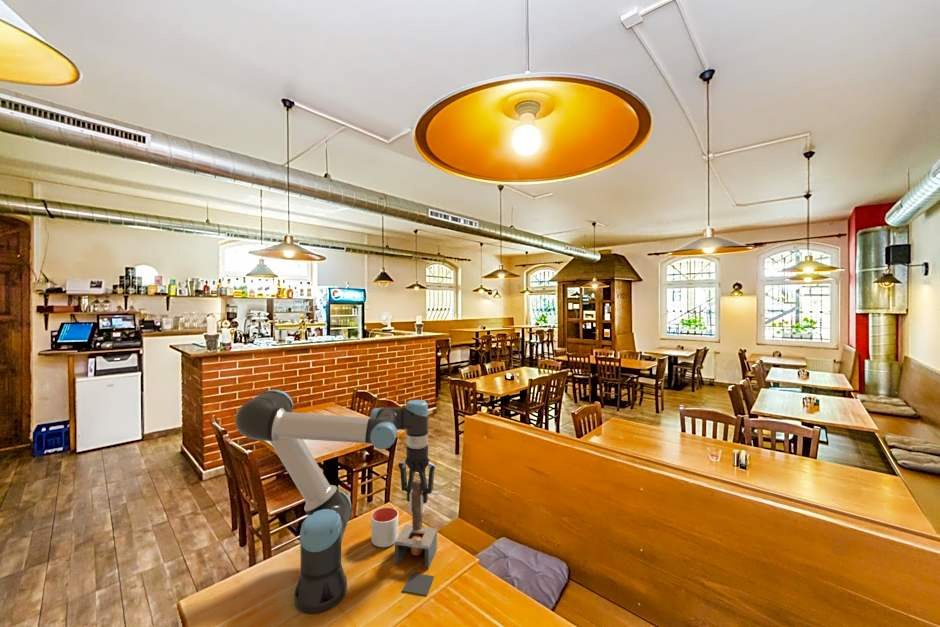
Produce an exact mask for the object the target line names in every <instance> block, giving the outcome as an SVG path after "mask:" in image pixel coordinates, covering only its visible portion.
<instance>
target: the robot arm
mask: <svg viewBox="0 0 940 627" xmlns="http://www.w3.org/2000/svg"><path fill="white" fill-rule="evenodd" d="M293 408H294V404H293V400H292V398H291V396H290V395H289V394H288V393H287V392H285V391H283V390H280V389H270V390H266V391H263V392H260V393H259V394H257V395H256V396H255V397H253V398H252V399H250V400H248V401H247V402H244V403H243V405H241V406H240V407H239V409H237V410H238V411H237V412H236V415H235V417H234V419H235V422H234V423H235V426H236V430H237V431H238V432H239V434H241V435H242V436H244V437H245V438H248V439H251V440H254V441H255V440H256V441H263V442H264V441H267V442H269V443H270V444H271V446H272V447H273V450H274V451H275V452H276V454H277V456H278V457H279V459H280V462H282V465H283V466H284V468H285V469H286V471H287V473H288V474H289V476H290V478H291V479H292V481H293V483H294V484H295V486H296V489H298V492H299V493H300V494H301V496H302V498H303V499H304V501H305V504H304V508H303V509H304V512H305V513H306V515H307V517H305V519H304V520H303V522H302V524H301V528H300V532H299V544H300V545H299V548H300V574H299V578H298V581H297V584H296V587H295V590H294V595H293V598H294V599H293V600H294V606H295V608H296V609H297V611H300V612H302V613H304V614H309V615H311V614H319V613H323V612H326V611H328V610H330V609H333V608H334V607H335V606H337V605H338V604H339V603H341V601H343V599H344V597H345V596H346V594H347V592H348V579H347V576H346V574H345V571H344V568H343V565H342V542H343V541H342V540H343V539H344V538H343V537H344V535H345V531H346V529H347V525H348V523H349V520H350V519H351V518H350V517H351V515H352V502H351V499H350V497H349V496H348V494H347V493H345V492H344V491H341V490H339V488H338V486H336V485H333V484H330V483H329V481H328V479H327V478H326V476H325V475H324V473H323V470H321V468H320V466H319V464H318V463H317V461H316V459H315V457H314V456H313V454H312V453H311V450H310V449H309V448H308V446H307V444H306V442H305V441H304V440H308V441H322V442H323V441H324V442H325V441H326V442H339V443H341V442H342V443H345V442H346V443H353V444H355V443H357V444H358V443H359V444H371V445H372V446H373V447H375V448H376V449H378V450H386V449H389V448H390V447H391V446H392V445H393V444H394V443H395V441H396V438H397V437H398V436H397V435H398V431H403V430H406V432H405V433H406V434H405V435H406V439H405V440H406V447H405V449H406V452H405V453H406V458H405V460H403V459H402V460H401V461H400V462H399V463H398V469H399V471H400V484H401V485H400V486H401V492H402V491H403V492H405V493H406V501H407V502H408V503H409V513H412V483H413V482H414V481H415V480H414V479H415V473H418V475H419V479H420V480H419V481H421V487H422V494H421V514H422V515H423V514H424V512H425V511H426V504H427V502H428V500H429V499H428V498H429V496H428V495H430V494H432V492H433V491H434V490H433V489H434V480H435V478H434V477H435V469H436V467H437V463H432V462H430V459H429V445H428V444H429V406H428V402H427V401H425V400H423V399H411V400H408V401H407V402H406V405H405V406H404V407H402V406H401V407H376V408H372V410H371V411H370V417H360V416H358V417H357V416H349V415H348V416H346V415H331V414H317V413H308V412H307V413H305V412H293ZM407 467H408V469H409V471H408V477H407ZM427 467H428V471H429V472H428V479H427V476H426V469H427ZM427 480H428V482H427Z"/></svg>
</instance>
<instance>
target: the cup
mask: <svg viewBox="0 0 940 627" xmlns="http://www.w3.org/2000/svg"><path fill="white" fill-rule="evenodd" d="M370 518H371V519H370V523H371V524H370V530H371V531H370V540H371V543H372V545H374V546H376V547H378V548H388V547H391V546H393V545H395V541H396V539H397V537H398V536H399V511H398V510H397V509H396V508H394V507H390V506H389V507H381V508H378V509H376V510H375V511H373V512H372V513H371V515H370Z"/></svg>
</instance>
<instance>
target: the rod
mask: <svg viewBox="0 0 940 627" xmlns="http://www.w3.org/2000/svg"><path fill="white" fill-rule="evenodd" d="M421 494H422V487H421V480H413V483H412V512H411V513H412V514H411V516H412V518H411V520H412V524H411V525H412V528H413V530H420V529H422V527H423V514H421Z"/></svg>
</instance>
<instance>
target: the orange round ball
mask: <svg viewBox="0 0 940 627" xmlns="http://www.w3.org/2000/svg"><path fill="white" fill-rule="evenodd" d="M411 539H415V540H421V539H422V538H421V537H420V536H414V537H412V538H411ZM422 552H423V550H422V548H416V547H411V549H410V553H411V554H410V555H413V556H419V555H421V554H422Z"/></svg>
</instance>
